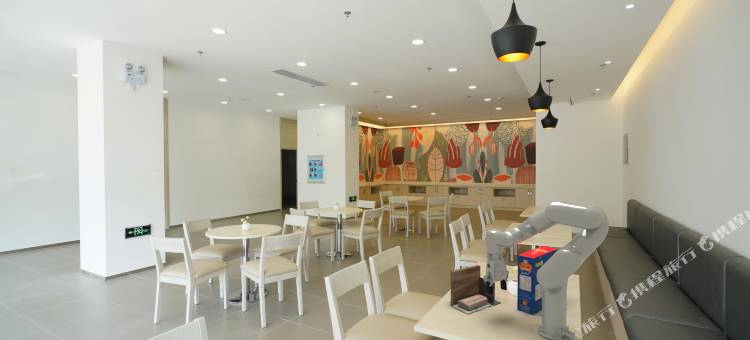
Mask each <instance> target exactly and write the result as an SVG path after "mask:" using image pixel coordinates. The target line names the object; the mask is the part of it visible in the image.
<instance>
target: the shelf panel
mask: <svg viewBox="0 0 750 340" xmlns="http://www.w3.org/2000/svg"><path fill="white" fill-rule="evenodd" d="M479 277H481V265H479V264H476V265H471V266H466V267H463V268H457V269H453V270H451V271H450V307H453V305H456V304H458V301H459V300H462V299H466V298H468V297H472V296H475V295H478V294H479Z"/></svg>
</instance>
